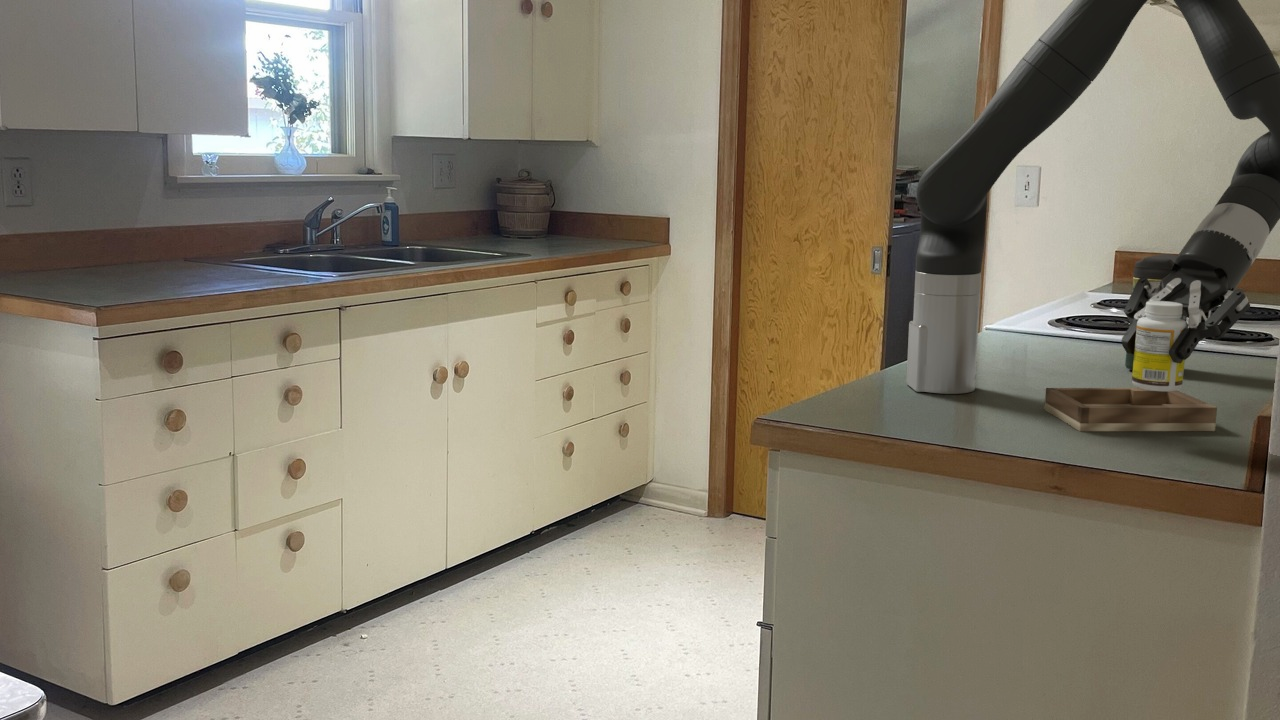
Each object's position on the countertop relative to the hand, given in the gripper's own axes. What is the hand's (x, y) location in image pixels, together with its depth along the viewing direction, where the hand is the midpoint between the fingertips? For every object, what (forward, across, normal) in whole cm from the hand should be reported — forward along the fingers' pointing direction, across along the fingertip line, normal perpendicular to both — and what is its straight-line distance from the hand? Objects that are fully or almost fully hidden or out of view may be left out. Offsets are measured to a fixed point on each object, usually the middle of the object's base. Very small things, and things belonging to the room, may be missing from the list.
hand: (1150, 353), depth 134 cm
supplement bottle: (+2, 0, +4) cm, 5 cm away
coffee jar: (-22, -28, +38) cm, 52 cm away
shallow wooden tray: (+2, -8, +14) cm, 16 cm away
